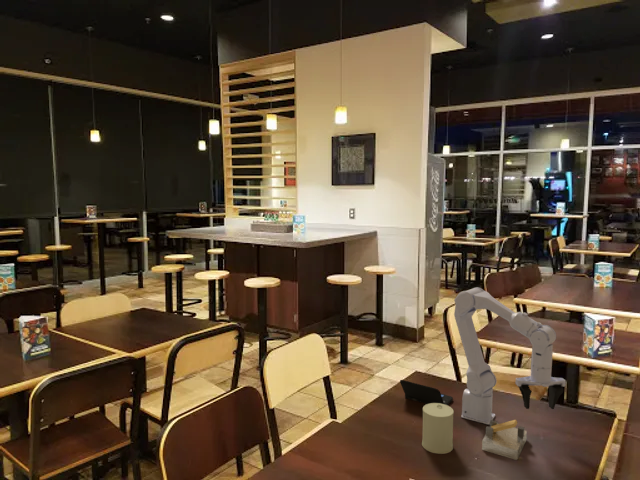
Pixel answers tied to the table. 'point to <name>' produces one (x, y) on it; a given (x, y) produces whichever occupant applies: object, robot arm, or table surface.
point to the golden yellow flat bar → (504, 426)
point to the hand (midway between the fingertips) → (538, 407)
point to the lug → (521, 431)
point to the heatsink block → (503, 441)
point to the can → (437, 428)
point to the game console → (424, 393)
